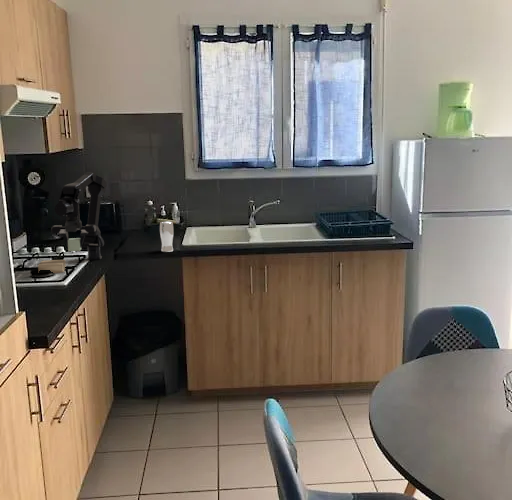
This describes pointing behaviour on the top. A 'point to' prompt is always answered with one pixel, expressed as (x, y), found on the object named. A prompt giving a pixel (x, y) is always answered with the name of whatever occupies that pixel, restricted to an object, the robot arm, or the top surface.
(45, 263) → the oak block
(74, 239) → the sage cube
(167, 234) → the beer glass
